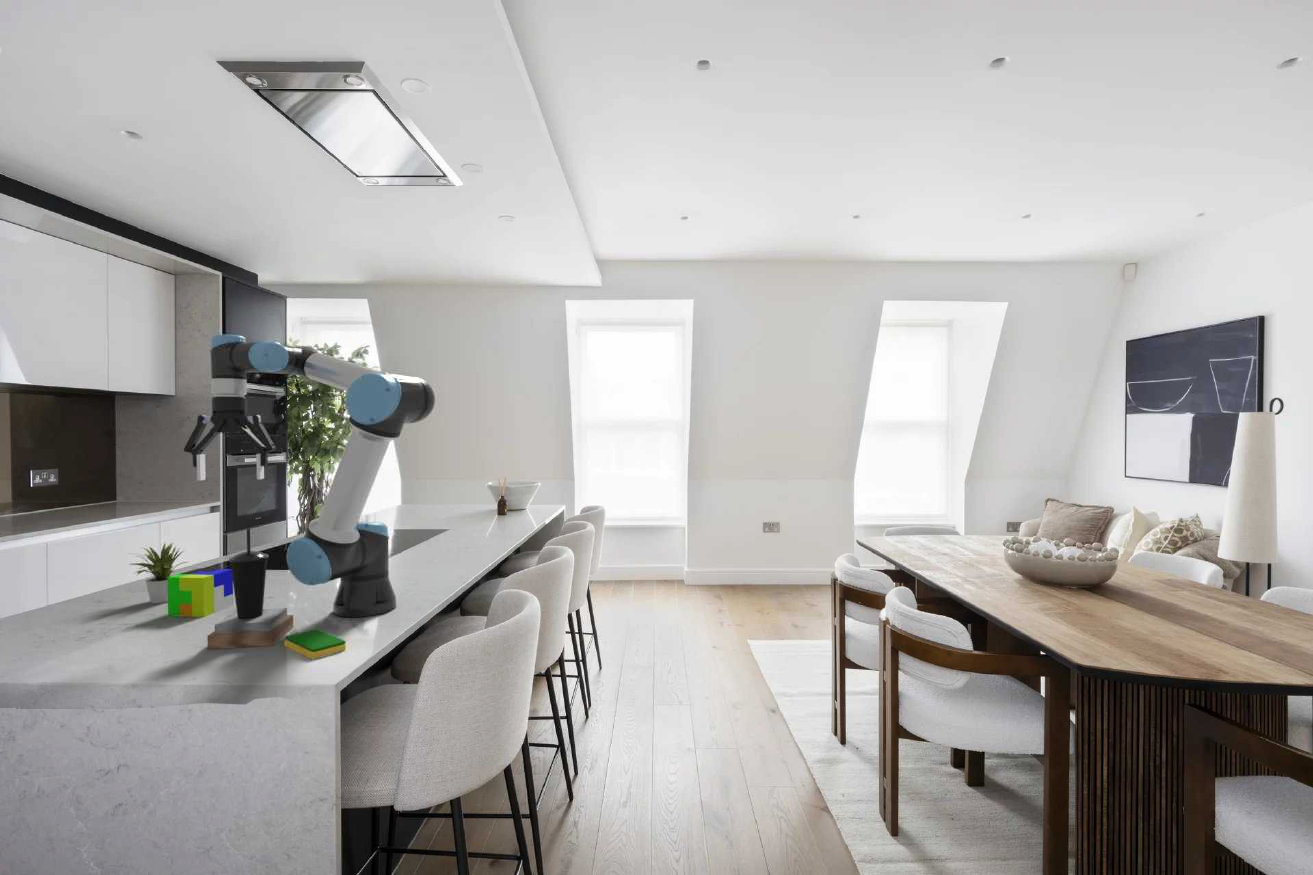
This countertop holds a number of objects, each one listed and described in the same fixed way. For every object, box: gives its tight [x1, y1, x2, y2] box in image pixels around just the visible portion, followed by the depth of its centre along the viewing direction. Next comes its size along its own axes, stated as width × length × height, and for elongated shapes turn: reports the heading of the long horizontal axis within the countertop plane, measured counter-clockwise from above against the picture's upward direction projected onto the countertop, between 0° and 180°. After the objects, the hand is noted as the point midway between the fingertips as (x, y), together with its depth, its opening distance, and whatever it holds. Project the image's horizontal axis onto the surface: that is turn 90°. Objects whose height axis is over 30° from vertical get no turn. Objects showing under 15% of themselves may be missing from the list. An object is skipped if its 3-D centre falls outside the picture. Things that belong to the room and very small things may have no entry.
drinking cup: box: [228, 528, 269, 619], centre depth 150 cm, size 8×8×20 cm
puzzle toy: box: [167, 568, 234, 618], centre depth 173 cm, size 10×10×10 cm
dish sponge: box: [284, 628, 347, 660], centre depth 144 cm, size 7×14×2 cm, turn 51°
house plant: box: [126, 542, 189, 604], centre depth 183 cm, size 14×14×16 cm
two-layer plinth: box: [207, 607, 294, 650], centre depth 151 cm, size 13×13×5 cm
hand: (231, 479), depth 168 cm, fingers open, 13 cm apart
